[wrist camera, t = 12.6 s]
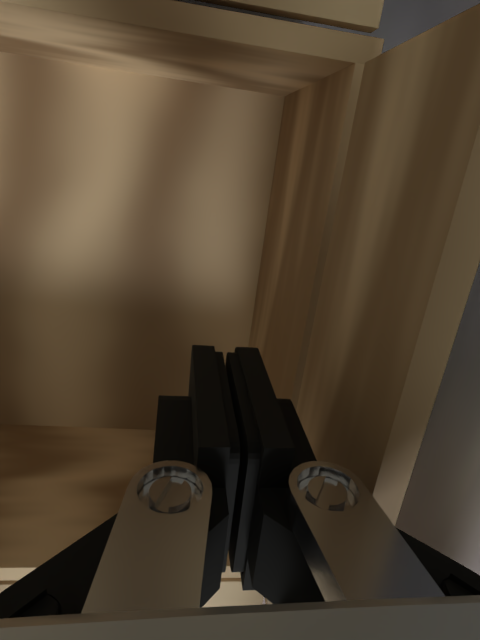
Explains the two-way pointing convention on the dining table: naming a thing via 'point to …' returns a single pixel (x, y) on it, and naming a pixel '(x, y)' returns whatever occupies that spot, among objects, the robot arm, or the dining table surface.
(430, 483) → the dining table surface
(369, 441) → the flap
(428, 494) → the dining table surface
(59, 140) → the carton
